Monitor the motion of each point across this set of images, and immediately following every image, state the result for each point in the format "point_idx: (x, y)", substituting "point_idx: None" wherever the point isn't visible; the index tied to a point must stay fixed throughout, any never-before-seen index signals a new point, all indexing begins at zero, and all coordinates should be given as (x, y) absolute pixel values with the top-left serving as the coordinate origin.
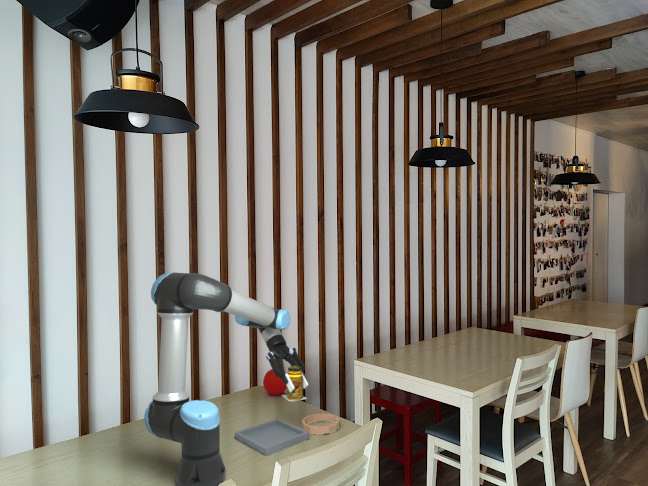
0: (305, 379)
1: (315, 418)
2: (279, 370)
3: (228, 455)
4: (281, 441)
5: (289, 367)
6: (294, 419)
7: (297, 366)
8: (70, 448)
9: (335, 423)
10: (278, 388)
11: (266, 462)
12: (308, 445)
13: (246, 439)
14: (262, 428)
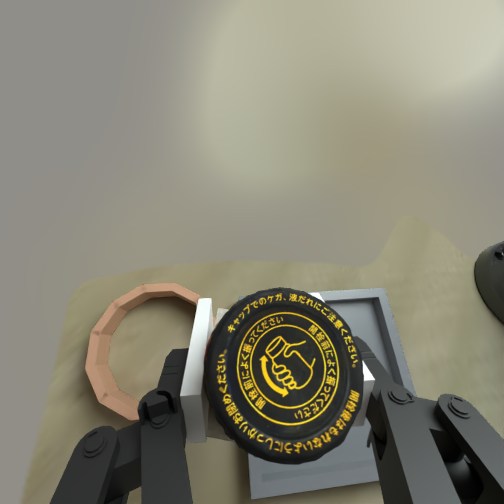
0: (196, 323)
1: (131, 402)
2: (462, 432)
3: (456, 359)
4: (332, 298)
5: (349, 401)
6: None
7: (236, 383)
8: None
9: (141, 289)
10: None
11: (383, 265)
12: (262, 272)
13: (412, 386)
14: (324, 466)
